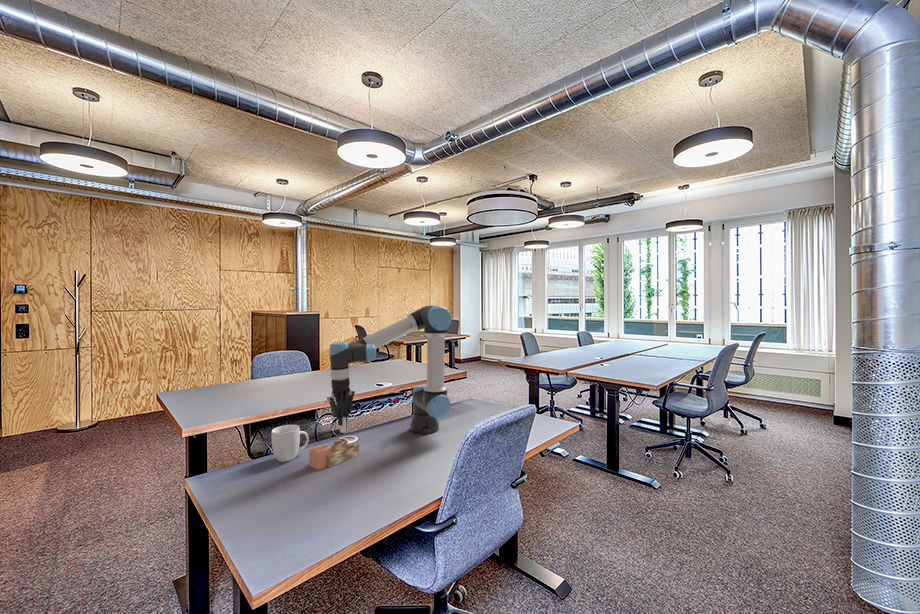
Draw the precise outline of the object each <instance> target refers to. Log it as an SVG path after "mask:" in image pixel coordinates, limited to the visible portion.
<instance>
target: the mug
mask: <svg viewBox="0 0 920 614" xmlns="http://www.w3.org/2000/svg"><path fill="white" fill-rule="evenodd" d="M300 429H301V428H300V425H298V424H285V425H280V426H278V427H274V428H273V429H272V430H271V448H272V452H273V456H274V457H275V458H276V460H277V461H278V462H280V463H285V462H290V461H293V460H294V459H295V458H296V457H297V454H298V452H301V451H303V449H305V448H306V447H307V446H308V445H309V441H310V440H309V439H310V437H309V435H308V433H307V432H306V431H303V430H300ZM302 434H303V435H305V439H306V440H305V443H304V444H303V445H302V447H300V441H301V440H300V439H301V437H300V436H301V435H302Z"/></svg>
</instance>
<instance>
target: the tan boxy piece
mask: <svg viewBox="0 0 920 614" xmlns="http://www.w3.org/2000/svg"><path fill="white" fill-rule="evenodd" d="M328 447H330V448H331V455H328V466H327V468H331V467H334V466H336V465H338V464H341V463H343V462H346V461H348V460H350V459H353V458H354V457H358V456H359V455H360V444H359V443H356V444H354V443H348V440H347V439H346V440H342V439H340V438H339V439H337V440H334V441H333V444H332V445H329V446H328Z"/></svg>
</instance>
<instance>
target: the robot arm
mask: <svg viewBox="0 0 920 614" xmlns="http://www.w3.org/2000/svg"><path fill="white" fill-rule="evenodd" d="M452 321H453V318H452V314H451V312H450V310H449V309H448V308H446V307H444V306H442V305H425V306H422V307H421V308H419V309H417V310H415V311H413V312H411V313H408V315H407V317H405V318H402V319H401V320H399V321H396V322H394V323H392V324H389V326H385V327H384V328H382V329H379V330H378V331H375V332H373V333H371V334H369V335H367V336H365V337H363V338H360V339H358V340H356V341H355V340H354V341H350V342H349V343H348V342H345V341H339V342H338V341H337V342H332V343H331V344H330V345H329V360H330V361H329V362H330V378H331V380H330V381H331V382H330V383H331V389H332V391H331V394H330V396H328V397H327V398H326V399H327V401H328V402H329V406H330V409H331V413H332V416H333V418H335V419H337V424H338V426H339V433H342V434H345V433H348V432H347V430H348V429H347V424H348V418H349V416H350V415H351V413H352V410H353V409H352V408H353V400H354V396H355V393H356V391H355V390H351V388H350V386H351V385H350V367H349V366H350V364H356V363H364V362H365V363H366V362H371V361H374V360H376V358H377V349H379V348H381V347H383V346H385V345H387V344H389V343H391V342H394V341H395V340H397V339H399V338H401V337H404V336H405V335H407V334H409V333H412V332H413V331H414V332H418V331H420V330H423V334H424V335H425V336H426V337H427V338H426V340H427V341H426V384H419V385H415V386H413V388H412V393H411V394H412V417H411V421H410V425H409V431H410V432H411V433H413V434H418V435H419V434H420V435H425V434H428V435H429V434H433V433H435V432H437V431H439V430H440V423H439V422H438V419H441V418H444V417H445V416H446V415H447V414H448V413H449V411H450V410H451V406H452V402H451V400H450V398H449V397H448V387H447V386H446V385H445V349H446V348H445V345H446V341H445V338H446V336H447V335H448V334H449V328H450V326H451V324H452Z"/></svg>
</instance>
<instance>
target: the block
mask: <svg viewBox="0 0 920 614" xmlns="http://www.w3.org/2000/svg"><path fill="white" fill-rule="evenodd" d="M308 452H309V455H308V457H309V468H312V469H315V470H317V471H320V470H322V469H325V468H326V467H327V468H328V455H331V448H330V447H329V446H327V445H324V444H320V445H317V446H315V447H312V448H310V449H308Z"/></svg>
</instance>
